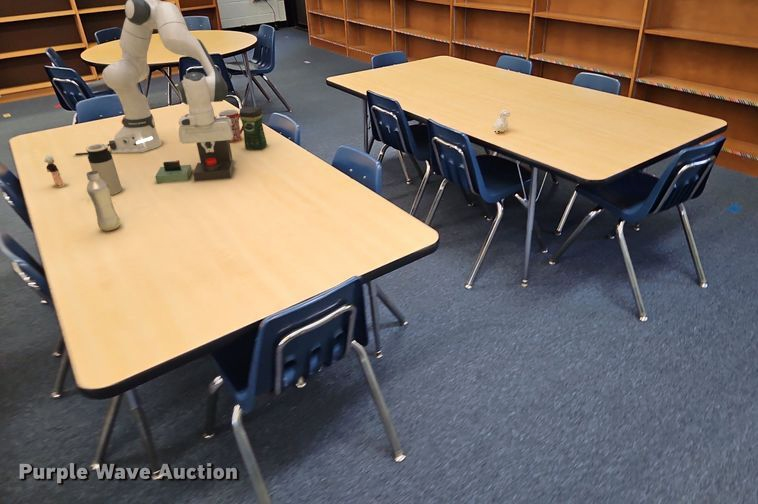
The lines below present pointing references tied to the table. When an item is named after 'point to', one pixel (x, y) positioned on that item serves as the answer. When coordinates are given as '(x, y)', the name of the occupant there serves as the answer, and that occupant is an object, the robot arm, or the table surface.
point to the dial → (172, 165)
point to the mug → (233, 123)
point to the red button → (211, 161)
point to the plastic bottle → (102, 201)
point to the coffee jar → (253, 128)
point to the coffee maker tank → (216, 151)
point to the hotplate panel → (174, 174)
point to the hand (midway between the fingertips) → (210, 152)
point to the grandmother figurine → (54, 171)
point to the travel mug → (104, 166)
